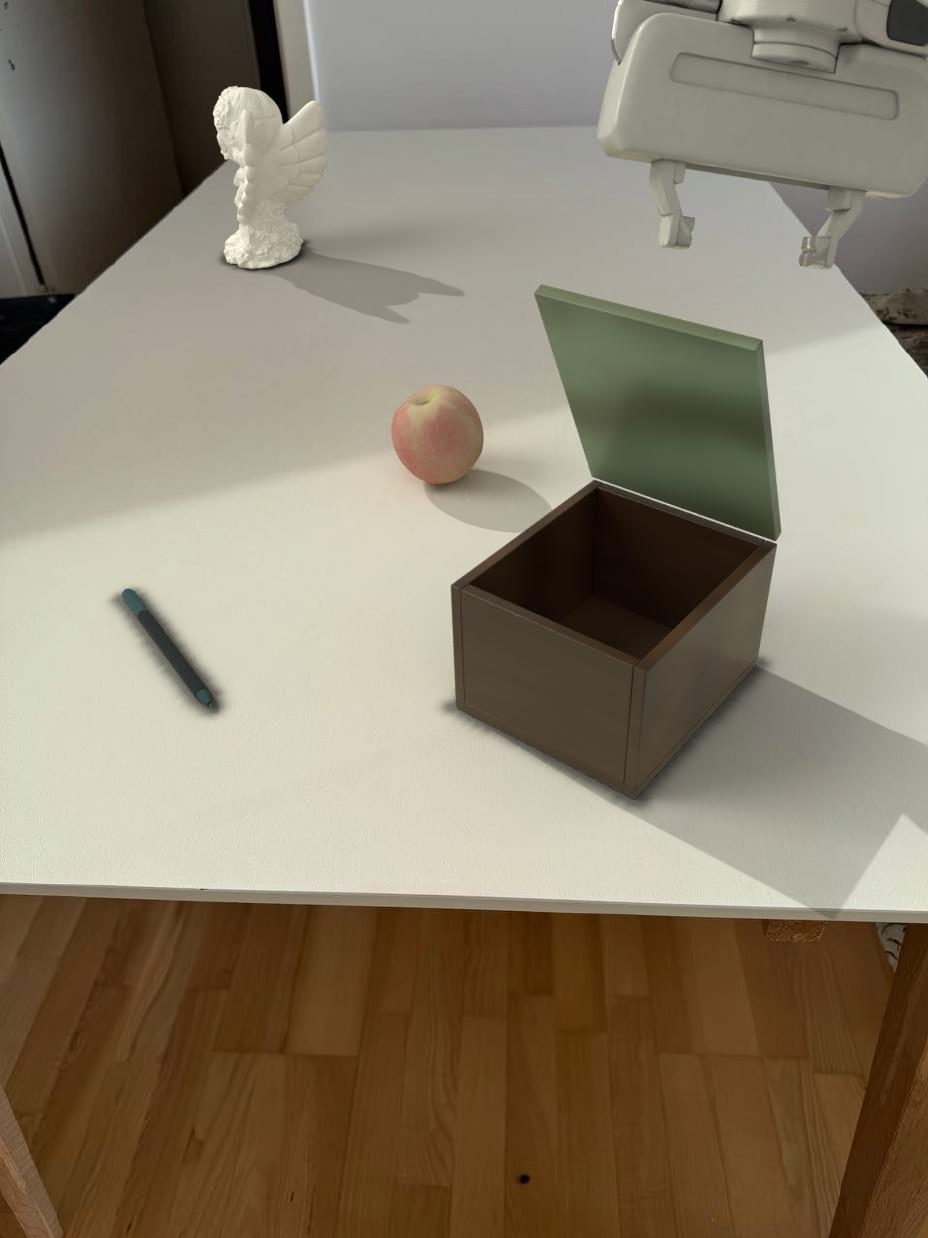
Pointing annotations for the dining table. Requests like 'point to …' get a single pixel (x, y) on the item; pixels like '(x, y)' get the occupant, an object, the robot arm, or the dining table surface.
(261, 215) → the cherub figurine
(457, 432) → the apple
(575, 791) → the dining table surface
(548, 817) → the dining table surface
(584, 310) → the lid
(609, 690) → the coldframe
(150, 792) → the dining table surface
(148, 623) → the pen
